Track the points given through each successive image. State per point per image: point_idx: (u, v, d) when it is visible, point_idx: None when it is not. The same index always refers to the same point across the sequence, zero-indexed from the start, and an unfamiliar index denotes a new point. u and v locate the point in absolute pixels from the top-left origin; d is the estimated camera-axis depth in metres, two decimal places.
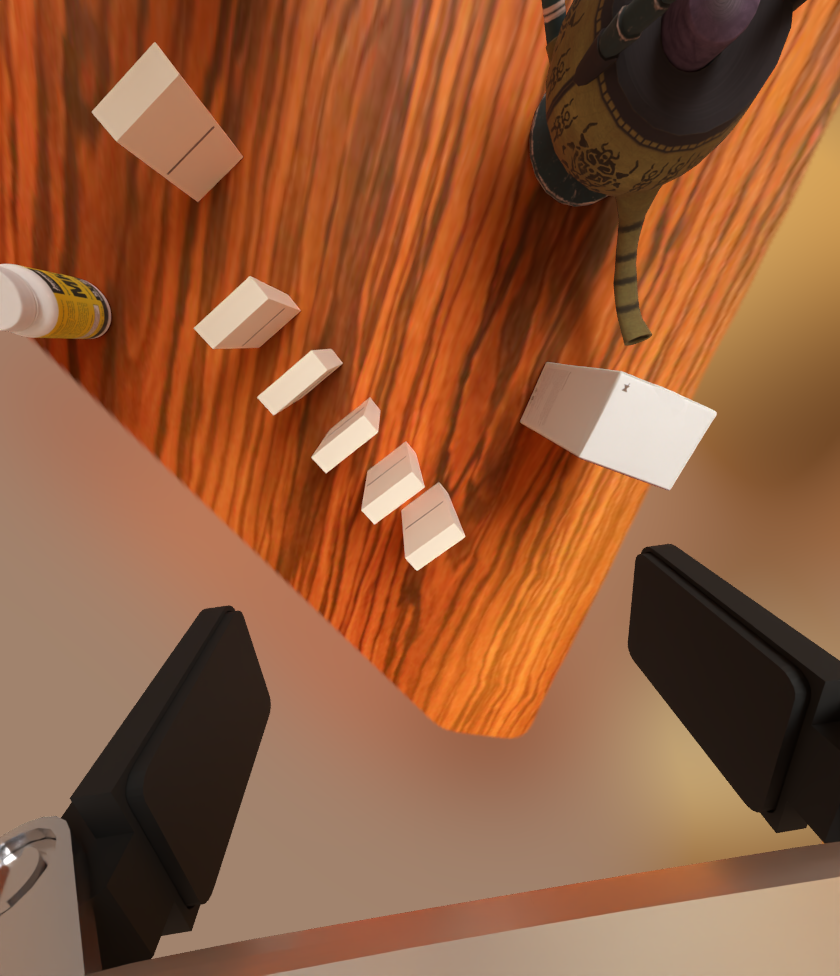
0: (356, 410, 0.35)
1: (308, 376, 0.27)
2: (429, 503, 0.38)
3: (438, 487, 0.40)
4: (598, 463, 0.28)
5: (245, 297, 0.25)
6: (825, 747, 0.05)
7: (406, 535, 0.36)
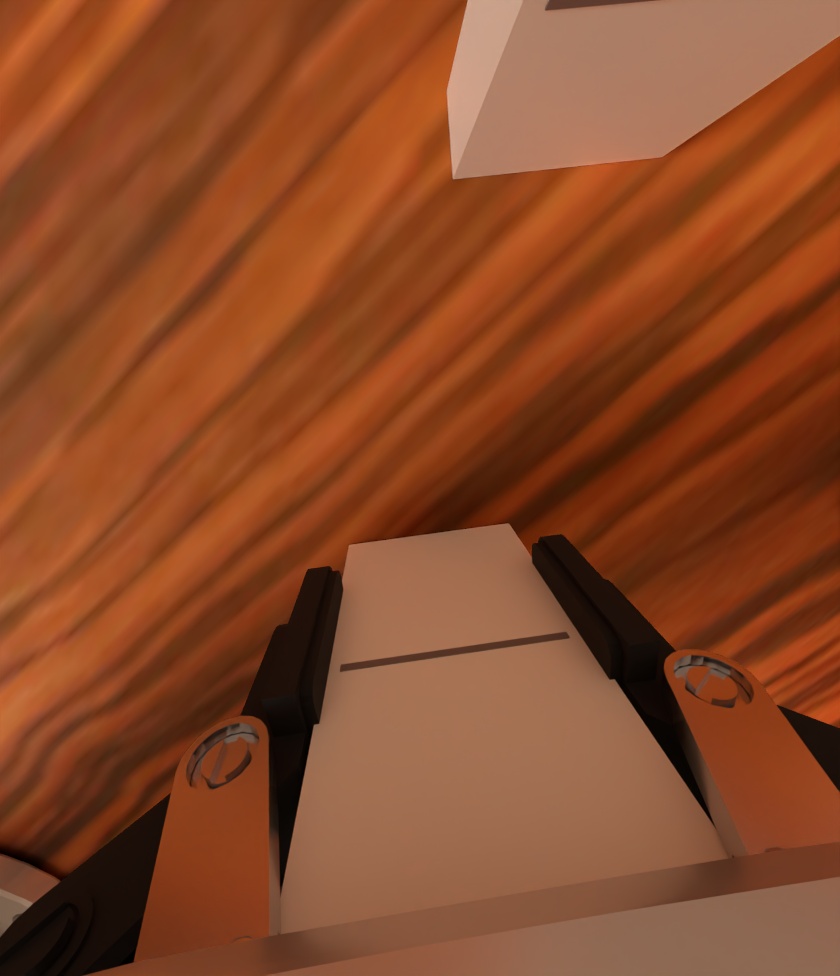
0: None
1: None
2: None
3: None
4: None
5: None
6: (632, 700, 0.06)
7: None
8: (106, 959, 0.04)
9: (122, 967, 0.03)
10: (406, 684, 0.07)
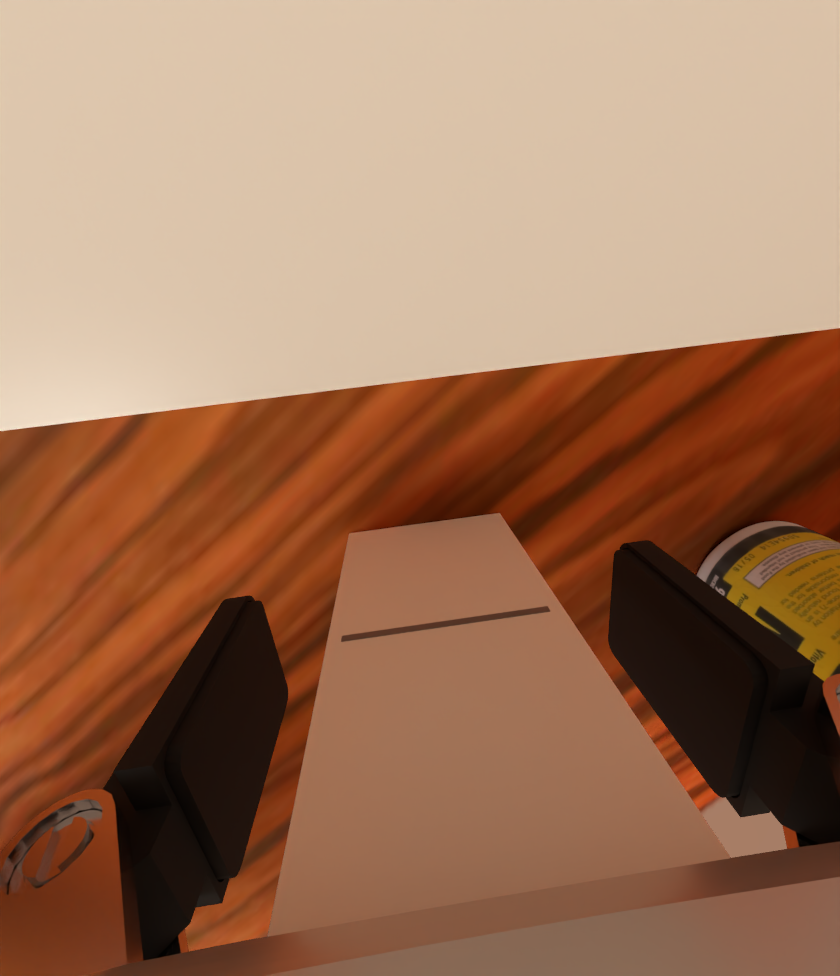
0: None
1: None
2: None
3: None
4: None
5: (109, 214, 0.01)
6: (781, 731, 0.06)
7: None
8: None
9: (122, 966, 0.03)
10: (401, 651, 0.08)
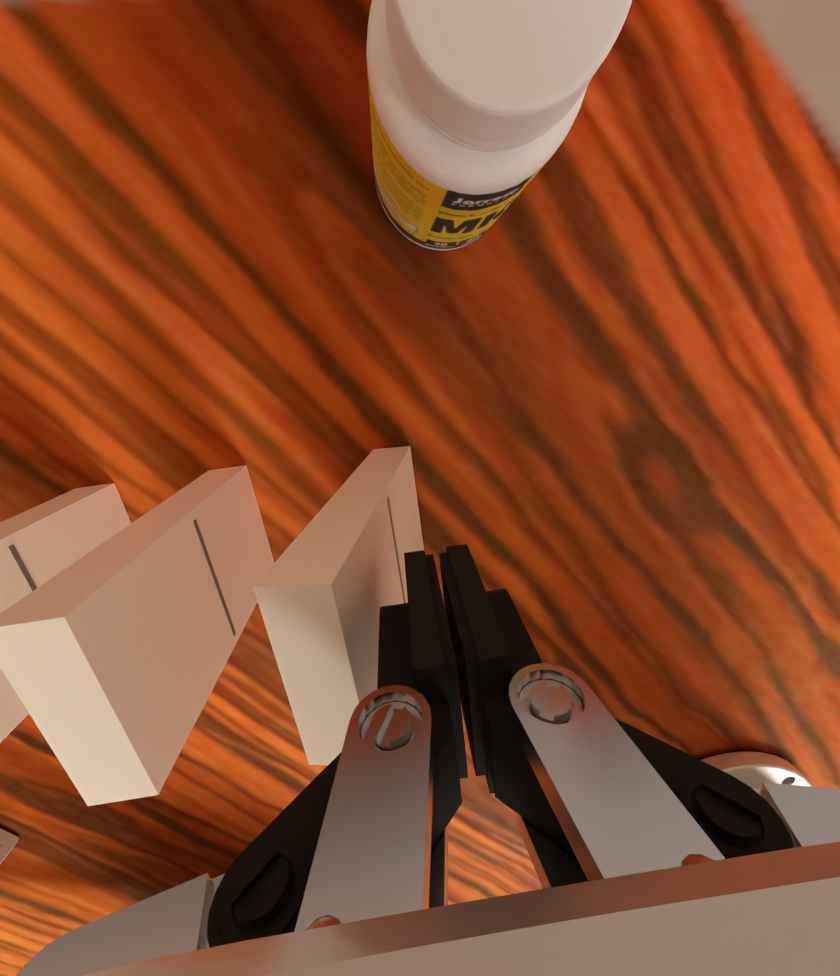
0: None
1: None
2: None
3: None
4: None
5: (108, 767, 0.09)
6: (486, 714, 0.06)
7: None
8: None
9: (122, 967, 0.03)
10: None
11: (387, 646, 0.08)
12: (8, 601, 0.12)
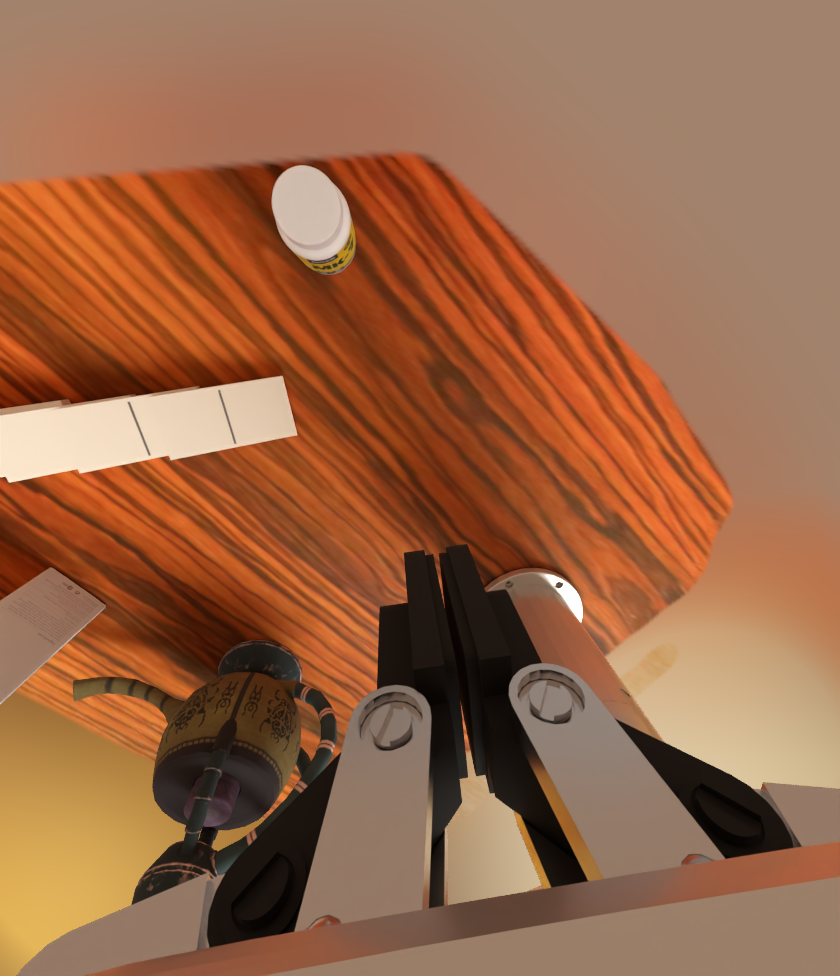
0: None
1: None
2: None
3: None
4: None
5: None
6: (486, 714, 0.06)
7: None
8: None
9: (122, 967, 0.03)
10: None
11: (387, 646, 0.08)
12: (53, 430, 0.31)
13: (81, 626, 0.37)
